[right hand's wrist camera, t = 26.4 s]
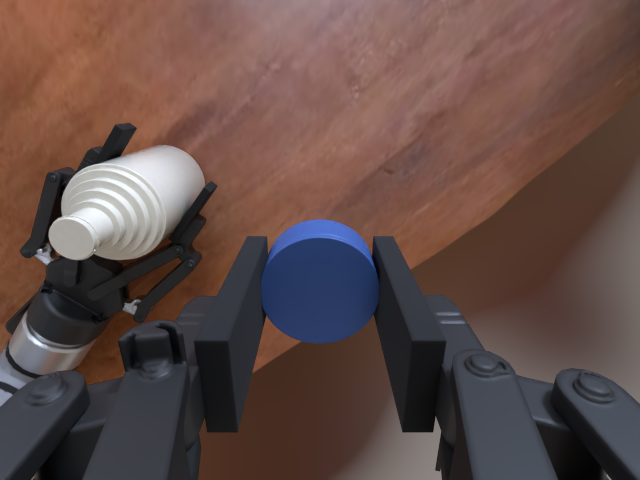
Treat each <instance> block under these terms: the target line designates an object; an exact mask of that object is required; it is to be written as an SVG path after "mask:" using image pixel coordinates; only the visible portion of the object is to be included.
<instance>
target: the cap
mask: <svg viewBox="0 0 640 480" xmlns="http://www.w3.org/2000/svg"><path fill="white" fill-rule="evenodd" d="M379 285H380V282H379V278H378V274H377V271H376V268H375V265H374V262H373V259H372V256H371V252H370V250H369V248H368V246H367V244H366V243H365V241H364V240H363V239H362V238H361V237H360V236H359V235H358V234H357V233H356V232H355V231H354V230H352V229H350V228H349V227H347V226H345V225H343V224H341V223H337V222H334V221H329V220H311V221H305V222H302V223H299V224H297V225H295V226H292V227H291V228H289V229H288V230H286V231H285V232H284V233H283V234H281V235H280V236H279V237H278V239H277V240H276V241H275V243H274V244H273V245H272V247H271V250H270V252H269V255H268V258H267V261H266V264H265V267H264V270H263V273H262V276H261V297H262V307H263V309H264V311H265V313H266V315H267V316H268V318H269V320H270V321H271V322H272V323H273V324H274V325H275V326H276V327H277V328H278V329H279V330H280V331H282V332H283V333H285V334H286V335H288V336H290V337H292V338H295V339H297V340H300V341H304V342H309V343H330V342H336V341H339V340H342V339H345V338H348V337H350V336H351V335H353V334H355V333H356V332H358V331H359V330H361V329H362V328H363V327H364V326H365V325H366V324H367V323H368V322H369V320H370V319H371V317H372V316H373V314H374V313H375V310H376V308H377V306H378V300H379Z"/></svg>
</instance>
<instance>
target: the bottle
mask: <svg viewBox="0 0 640 480" xmlns="http://www.w3.org/2000/svg"><path fill="white" fill-rule="evenodd" d="M204 187H205V180H204V176H203V173H202V171H201V169H200V167H199V165H198V164H197V162H196V161H195V160H194V159H193V158H192V157H191V156H190V155H189V154H187V153H186V152H184V151H182V150H181V149H178V148H176V147H172V146H167V145H158V146H153V147H150V148H147V149H143V150H140V151H137V152H134V153H130V154H127V155H124V156H121V157H117V158H114V159H111V160H108V161H104V162H101V163H98V164H95V165H91V166H88V167H86V168H84V169H82V170H81V171H79V172H78V173H77V174H75V175H74V176H73V178H72V179H71V180H70V182H69V183H68V185H67V187H66V189H65V191H64V193H63V196H62V202H61V210H62V216H63V217H60V218H58V219H57V220H55V221H54V222H53V224H52V225H51V227H50V229H49V240H50V243H51V245H52V247H53V248H54V249H55V250H56V251H57V252H58V253H59V254H60V255H62V256H64V257H66V258H69V259H72V260H84V259H87V258H89V257H90V256H92V255H93V254H95V255H98V256H100V257H103V258H107V259H112V260H126V259H135V258H138V257H141V256H144V255H146V254H148V253H149V252H151V251H152V250H153V249H154V248H156V247H157V246H158V245H159V244H160V243H161V242H162V241H163V240H164V239H165V238H166V237H167V236H168V235H169V234H170V233H171V232H172V231H174V230H175V229H176V227H177V226H178V224H179V223H180V221H181V220H182V218H183V217H184V216H185V214H186V213H187V211H188V210H189V208H190V207H191V205H192V204H193V202H194V201H195V199H196V198H197V197H198V195H199V194H200V192H201V191H202V189H203V188H204Z"/></svg>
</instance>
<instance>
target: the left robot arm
mask: <svg viewBox="0 0 640 480" xmlns="http://www.w3.org/2000/svg"><path fill="white" fill-rule="evenodd" d="M136 129H137V128H136V127H135V126H133V125H132V124H130V123H126V124H119V125H115V126H114V128H113V130H112V132H111V133H110V135H109V137H108V139H107V140H106V142H105V144H104V146H103V147H101V146H99V147H95V148H92V149H90V150H89V151H87V153H86V155H85V157H84V158H83V160H82V162H81V164H80V166H79V167H78V169H77V171H74V170H73V169H72V168H69V167H66V168H62V169H59V170H55V171H52V172H49V173H48V174H47V176H46V179H45V183H44V187H43V191H42V195H41V199H40V203H39V207H38V210H37V214H36V218H35V222H34V226H33V230H32V234H31V238H30V239H29V240H28V241H27V242H26V243H25V245H24V246H23V247H22V248H21V250H20V253H21V255H22V256H24V257H25V258H31V257H32V256H35V257H36V258H37V259H39V260H40V261H41V262H43V263H44V264H45V265H47V266H46V279H45V281H44V282H43V284H42V285H41V287H40V289H39V290H38V292H37V294H36V296H35V297H34V299H33V301H32V302H31V304H30V306H29V308H28V310H27V311H26V313H25V314H24V316H23V317H22V319H21V321H20V323H19V325H18V326H17V328H16V330H15V332H14V334H13V336H12V337H11V339H10V340H9V342H8V344H7V346H6V347H5V349H4V350H3V352H2V354H1V355H0V406H2V405H3V404H4V403H5V402H6V401H7V400H8V399H9V398H10V397H11V396H12V395H13V394H14V393H15V392H17V391H18V390H19V389H20V388H22V387H23V386H24V385H26V384H27V383H28V382H30V381H32V380H34V379H36V378H38V377H40V376H42V375H45V374H49V373H52V372H56V371H63V370H72V371H75V370H76V368H77V367H78V366H79V364H80V363H81V362H82V360H83V359H84V357H85V356H86V354H87V353H88V351H89V350H90V349H91V347H92V346H93V344H94V343H95V341H96V340H97V338H98V336H99V335H100V334H101V333H102V331H103V330H104V329H105V327H106V326H107V324H108V323H109V321H110V320H111V318H112V317H113V315H114V314H115V313H116V312H119V311H121V310H124V311H126V312H129V313H131V314H133V315H134V316H133V319H134V321H135V322H137V323H142V322H144V320H145V319H146V318H147V317H148V315H149V314H150V313H151V311H152V310H153V309H154V306H155V304H156V303H157V302H158V301H159V300H160V299H161V298H162V297H164V296H165V295H166V294H167V293H168V292H169V291H170V290H171V289H173V288H174V287H175V286H176V285H177V284H178V283H179V282H181V281H182V280H183V279H184V278H185V277H186V276H187V275H188V274H190V273H191V272H192V271H193V270H194V269H195V267H196V266H197V265H198V263H199V262H200V260H201V259H202V255H201V253H200V252H198V251H195V249H194V248H193V246H192V242H193V240H194V239H195V237H196V236H197V234H198V233H199V232H200V230H201V229H202V227H203V226H204V225H205V222H206V218H204V217H203V216H201V215H200V214H198V213H199V212H200V210H201V209H202V208H203V206H204V205H205V203H206V202H207V200H208V199H209V198H210V196H211V195H212V193H213V192H214V190H215V189H216V188H217V185H216V184H215V183H213V182H212V181H211V182H210V183H209V184H207V185H206V186H205V187H204V188H203V189H202V191H201V192H200V194H199V195H198V197H197V198H196V199H195V201H194V202H193V204H192V205H191V207H190V208H189V210H188V211H187V213H186V214H185V216H184V217H183V218H182V220H181V221H180V223H179V224H178V226H177V227H176V229H175V230H174V232H173V233H172V234H171V236H170V237H169V240H171V241H172V243H170V244H168V245H166V246H164V247H162V248H160V249H159V250H157V251H155V252H153V253H151V254H149V255H147V256H145V257H143V258H141V259H139V260H137V261H136V262H132V263H130V264H128V265H126V266H124V267H122V264H120V263H118V262H117V261H115V260H112V259H107V258H103V257H100V256H98V255H95V254H93V255H92V256H90V257H89V258H87V259H84V260H72V259H69V258H66V257H64V256H59V257H58V256H57V255H56V253H55V249H54V248H53V247H52V245H51V243H50V240H49V229H50V227H51V225H52V224H53V222H54V221H55V220H57V219H58V218H60V217H63V216H62V210H61V202H62V196H63V193H64V191H65V189H66V187H67V185H68V183H69V182H70V180H71V179H72V178H73V176H74V175H75V174H77V173H78V172H79V171H81V170H82V169H84V168H86V167H88V166H91V165H95V164H98V163H101V162H104V161H108V160H111V159H114V158H117V157H120V156H121V154H122V152H123V151H124V149H125V147H126V146H127V144H128V142H129V140H130V139H131V137H132V135H133V134H134V132H135V130H136ZM177 257H179V259H180V260H181V261H182V262H181V263H180V264H179V265H178V266H176V267H175V268H174V269H173V270H172V271H171V272H170V273H169V274H168V275H166V276H165V277H164V278H163V279H162V280H161V281H160V282H159V283H158V284H156V285H155V286H154V287H153V288H152V289H151V290H150V291H149V293H148V294H147V295H139V296H137V297H136V298H135V299H129V291H128V285H127V284H128V283H129V282H131V281H133V280H135V279H136V278H138V277H140V276H142V275H144V274H146V273H148V272H150V271H152V270H154V269H156V268H158V267H160V266H162V265H164V264H166V263H168V262H170V261H172V260H174V259H175V258H177Z"/></svg>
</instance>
